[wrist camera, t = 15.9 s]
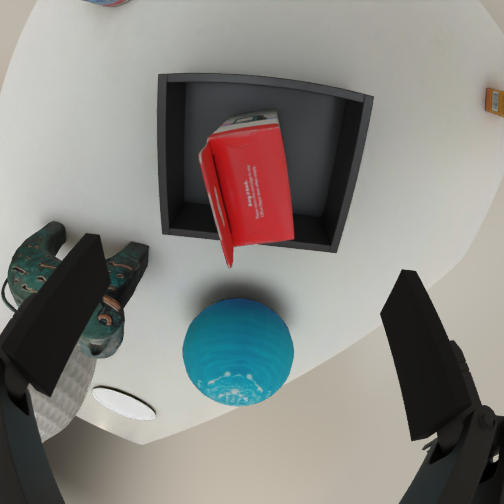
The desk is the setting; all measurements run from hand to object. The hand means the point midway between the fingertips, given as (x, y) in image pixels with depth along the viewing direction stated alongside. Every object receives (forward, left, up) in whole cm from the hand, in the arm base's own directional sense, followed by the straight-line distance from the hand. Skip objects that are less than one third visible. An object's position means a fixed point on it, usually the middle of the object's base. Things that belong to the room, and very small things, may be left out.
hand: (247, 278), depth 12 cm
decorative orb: (0, +25, -21) cm, 33 cm away
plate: (+33, +74, -21) cm, 84 cm away
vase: (+32, +36, -21) cm, 53 cm away
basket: (0, 0, -21) cm, 21 cm away
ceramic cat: (+22, +15, -21) cm, 34 cm away
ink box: (0, 0, -21) cm, 21 cm away
